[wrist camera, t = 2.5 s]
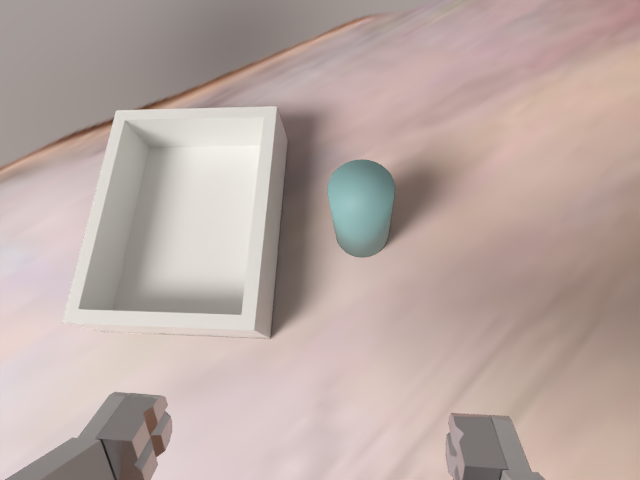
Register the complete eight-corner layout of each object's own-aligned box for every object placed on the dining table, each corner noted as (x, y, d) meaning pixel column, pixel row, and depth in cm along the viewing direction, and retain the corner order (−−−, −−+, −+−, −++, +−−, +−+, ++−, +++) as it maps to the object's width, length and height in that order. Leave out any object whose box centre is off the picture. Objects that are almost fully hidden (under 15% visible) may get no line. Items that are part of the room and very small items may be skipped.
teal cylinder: (388, 208, 35) (394, 159, 28) (388, 257, 34) (395, 220, 26) (336, 208, 36) (328, 159, 28) (334, 256, 34) (326, 219, 27)
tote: (287, 140, 38) (277, 106, 34) (270, 338, 32) (254, 330, 28) (145, 142, 40) (116, 110, 35) (103, 331, 34) (61, 322, 29)
